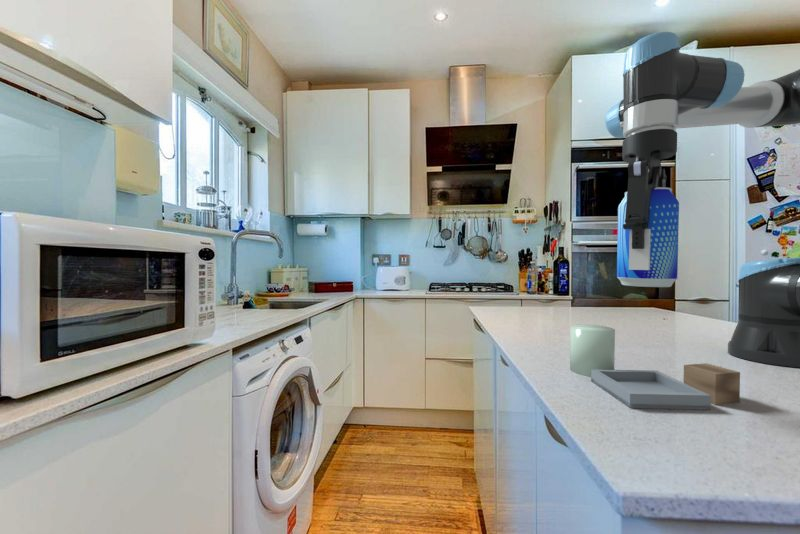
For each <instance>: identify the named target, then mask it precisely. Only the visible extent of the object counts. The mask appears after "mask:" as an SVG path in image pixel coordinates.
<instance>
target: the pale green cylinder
mask: <svg viewBox="0 0 800 534" xmlns="http://www.w3.org/2000/svg"><path fill="white" fill-rule="evenodd" d="M569 333H570V334H569V337H570V339H569V340H570V341H569V342H570V343H569V344H570V345H569V350H570V351H569V370H570V371H571V373H572V372H573V373H574V374H576V375H581V376H583V377H584V376H585V377H589V378H591V369H593V370H615V365H616V364H615V363H616V362H615V360H616V359H615V358H616V357H615V354H616V353H615V351H616V349H615V348H616V344H615V343H616V329H615V328H614V327H610V326H604V325H598V324H583V323H581V324H571V325H570V332H569Z"/></svg>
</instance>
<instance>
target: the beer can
mask: <svg viewBox="0 0 800 534" xmlns="http://www.w3.org/2000/svg"><path fill="white" fill-rule="evenodd" d="M626 204H627V191H625V192H624V197H623V198H622V200H621V202H620V203H619V204H618V207H617V246H616V247H617V248H616V249H617V250H616V251H617V252H616V253H617V254H616V277H617V279H618V280H619V281H620V284H621V285H623V286H627V287H628V286H629V287H641V288H642V287H643V288H670V287H672V286H673V284H674V283H675V282H676V281H677V280H678V274H679V272H678V268H679V267H678V264H679V262H678V261H679V225H680V224H679V222H680V221H679V220H680V219H679V218H680V202H679V200H678V198H677V197H676V196H675V195H674V193H673V188H671V187H656V188H655V189H654V190H652V194H651V199H650V218H649V226H648V228H645V229H651V233H650V270H629V230H632V229H624V228H623V224H626V223H625V217H626Z"/></svg>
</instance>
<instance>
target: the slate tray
mask: <svg viewBox="0 0 800 534" xmlns="http://www.w3.org/2000/svg"><path fill="white" fill-rule="evenodd" d="M590 378H591V379H590V381H591V383H593V384H595V385H596V386H597V387H599V388H601V389H602V390H603V391H605V392H606V393H608V394H609V395H611V396H612V397H614V398H615V399H616V400H618V401H619V402H621V403H622V404H624V405H626V407H628V408H629V409H663V410H664V409H667V410H703V411H704V410H709V411H710V410H711V409H712V404H711V395H709V394H707V393H705V392H702V391H700V390H698V389H696V388H694V387H691V386H689V385H687V384H685V383H684V381H683V382H682V381H680V380H678V379H676V378H674V377H672V376H670V375H667V374H665V373H663V372H661V371H659V370H644V369H643V370H641V369H640V370H639V369H635V370H633V369H614V370H593V369H591V377H590Z"/></svg>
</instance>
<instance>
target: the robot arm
mask: <svg viewBox="0 0 800 534" xmlns="http://www.w3.org/2000/svg"><path fill="white" fill-rule="evenodd" d="M680 50H681V45H680V38H679V37H678V35H677V34H676V33H675V32H672V31H660V32H655V33H651V34H649V35H646V36H644V37H641V38H640V39H638V40H637V41H636V42H634V43H633V44H631V45H630V47H629V48H627V50H626V53H625V56H624V61H623V62H624V63H623V73H622V77H623V87H622V88H623V90H622V91H623V96H622V97H623V99H621V100H620V101H619V102H617V103H616V104H614V105H613V106H611V107H610V109H608V110H607V113H606V115H605V127H606V130H607V131H608V133H609V134H610V136H612V137H614V138H617V139H623V140H622V152H621V153H622V154H621V155H622V160H623V162H625V163H628V164H627V173H628V174H627V176H628V179H627V191H626V192H627V204H626V217H625V223H626V224H623V228H624V229H632V230H629V270H650V233H651V229H645V228H648V226H649V218H650V199H651V194H652V190H654V189H655V188H656V187H666V186H667V185H666V184H667V177H668V176H667V174H666V170H665V168H662V164H661V163H662V161H664V160H666V159H669V158H672V157H673V156H675V155H676V154H677V152H678V132H677V131H676V130H677V129H688V128H691V129H692V128H702V127H704V128H705V127H715V126H729V125H730V126H731V125H739V126H740V127H743V128H752V129H753V128H765V127H779V126H789V125H800V69H797V70H794V71H793V72H792V71H791V72H790V73H788V74H784V75H782V76H780V77H777V78H773V79H770V80H761V81H757V82H754V83H753V84H750V85H749V86H744V85H743V84H744V82H745V70H744V67H743V66H742V65H741V63H738V62H736V61H734V60H733V61H732V60H727V59H725V58H724V57H723V58H722V57H711V56H702V55H694V54H688V53H685V52H680ZM666 188H667V187H666ZM737 282H738V307H737V308H738V311H737V313H738V314H737V315H738V316H737V317H738V318H737V324H736V327H735V329H734V330H733V333H732V336H731V339H730V340H729V341H728V343H727V353H728V354H729V355H731V356H733V357H736V358H740V359H744V360H748V361H751V362H756V363H761V364H768V365H773V366H775V365H776V366H783V367H789V368H790V367H792V368H800V256H799V257H786V258H785V257H784V258H770V259H769V258H768V259H762V260H761V259H760V260H752V261H748V262H745V263H743V264H742V265H741V266H740V268H739V276H738V278H737Z"/></svg>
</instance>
